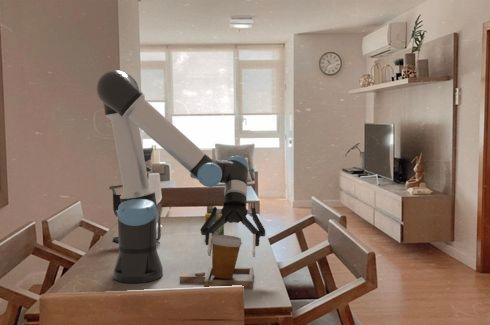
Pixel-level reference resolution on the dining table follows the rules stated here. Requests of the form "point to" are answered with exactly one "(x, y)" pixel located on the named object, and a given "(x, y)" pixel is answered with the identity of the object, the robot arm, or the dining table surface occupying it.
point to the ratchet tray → (239, 278)
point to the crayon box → (221, 229)
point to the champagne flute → (155, 186)
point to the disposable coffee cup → (224, 255)
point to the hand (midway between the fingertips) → (231, 254)
